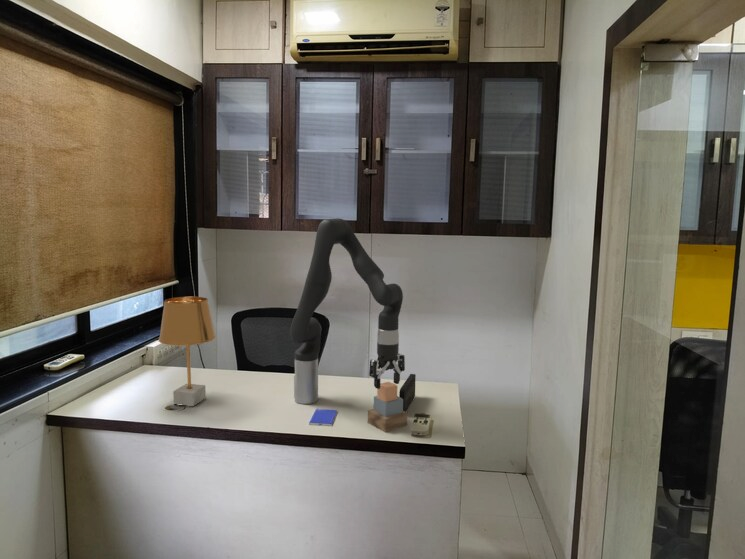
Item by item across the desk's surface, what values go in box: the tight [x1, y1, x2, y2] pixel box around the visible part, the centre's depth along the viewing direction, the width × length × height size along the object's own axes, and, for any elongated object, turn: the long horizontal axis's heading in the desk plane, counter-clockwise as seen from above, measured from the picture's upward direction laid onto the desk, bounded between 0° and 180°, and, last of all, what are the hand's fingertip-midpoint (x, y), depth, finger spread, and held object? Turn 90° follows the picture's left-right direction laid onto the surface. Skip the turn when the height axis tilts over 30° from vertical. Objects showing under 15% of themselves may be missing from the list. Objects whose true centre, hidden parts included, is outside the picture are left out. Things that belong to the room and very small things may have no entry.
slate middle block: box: [373, 395, 403, 417], centre depth 183 cm, size 8×8×5 cm
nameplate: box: [398, 373, 416, 412], centre depth 201 cm, size 21×2×10 cm, turn 164°
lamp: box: [158, 296, 217, 407], centre depth 200 cm, size 21×21×41 cm
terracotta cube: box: [376, 381, 398, 402], centre depth 182 cm, size 5×5×5 cm
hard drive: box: [308, 408, 338, 427], centre depth 188 cm, size 2×8×12 cm
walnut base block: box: [367, 408, 408, 433], centre depth 184 cm, size 10×10×5 cm
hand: (386, 385), depth 182 cm, fingers open, 8 cm apart
